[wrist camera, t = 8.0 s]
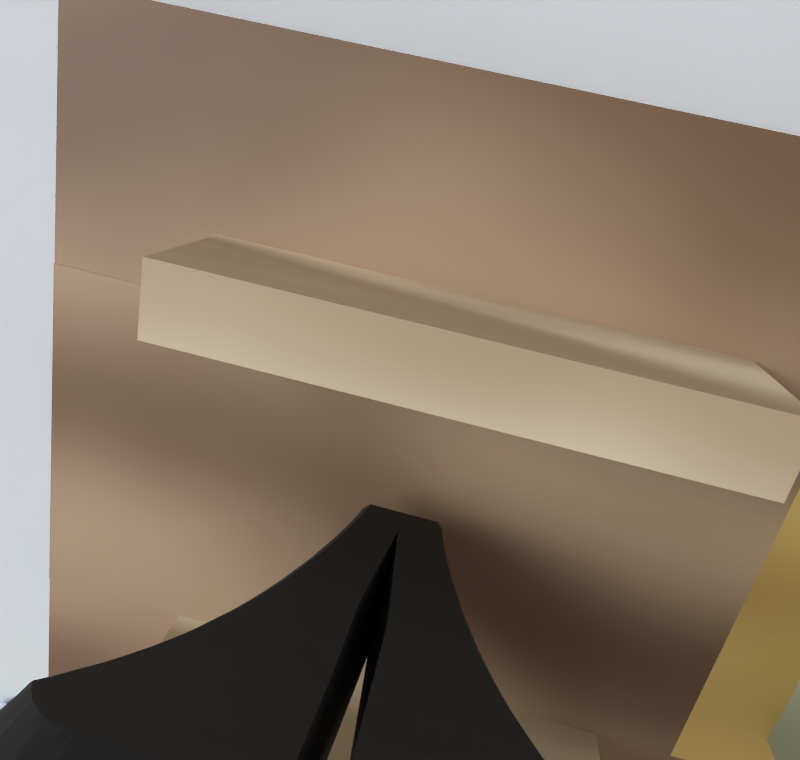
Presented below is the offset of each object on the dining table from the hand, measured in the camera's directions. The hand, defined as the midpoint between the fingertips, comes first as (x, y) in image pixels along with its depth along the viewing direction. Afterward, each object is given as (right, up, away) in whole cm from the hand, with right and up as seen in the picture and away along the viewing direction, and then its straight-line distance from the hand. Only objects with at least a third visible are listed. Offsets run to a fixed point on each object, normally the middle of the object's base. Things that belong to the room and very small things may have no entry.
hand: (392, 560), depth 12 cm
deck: (+7, -1, +2) cm, 7 cm away
